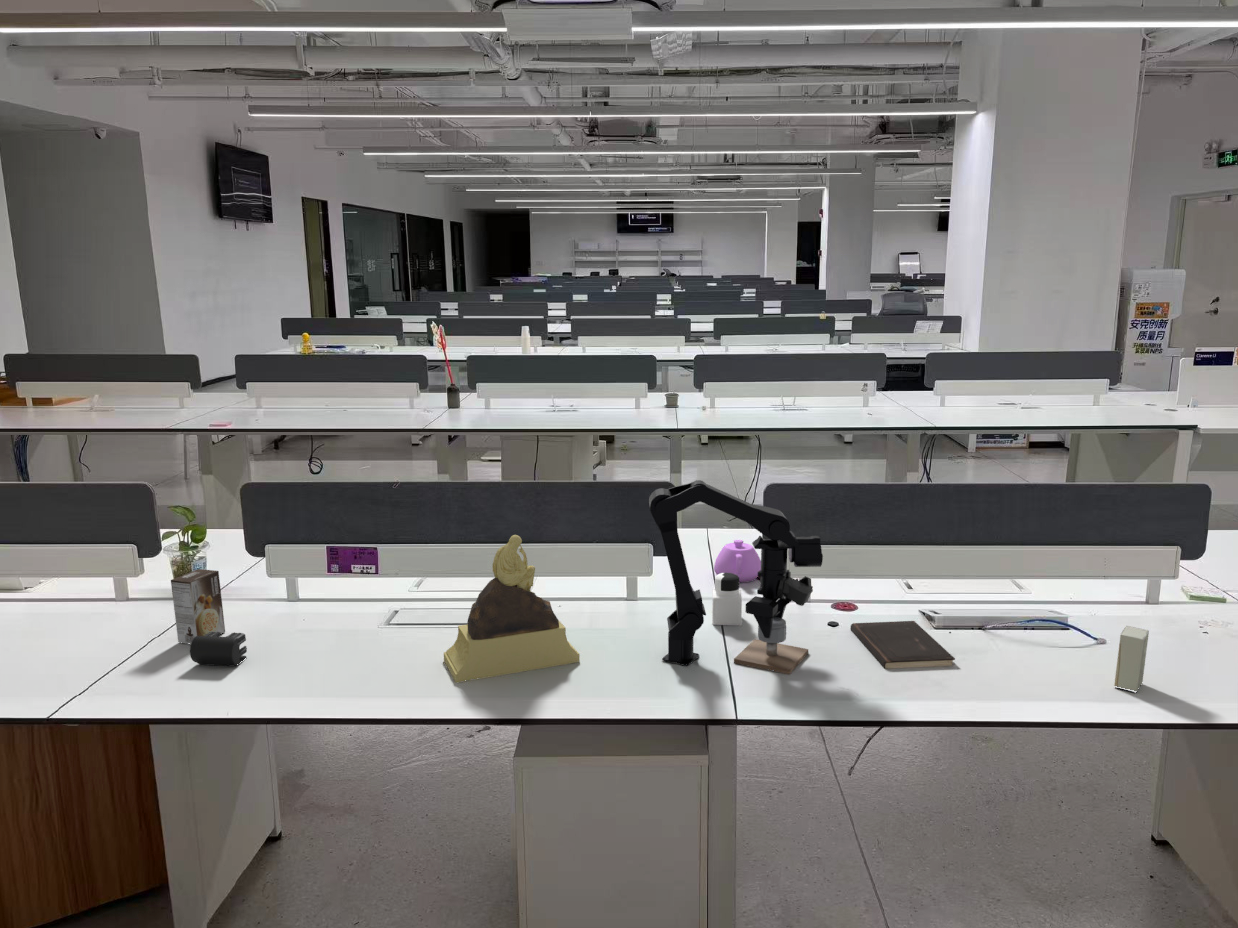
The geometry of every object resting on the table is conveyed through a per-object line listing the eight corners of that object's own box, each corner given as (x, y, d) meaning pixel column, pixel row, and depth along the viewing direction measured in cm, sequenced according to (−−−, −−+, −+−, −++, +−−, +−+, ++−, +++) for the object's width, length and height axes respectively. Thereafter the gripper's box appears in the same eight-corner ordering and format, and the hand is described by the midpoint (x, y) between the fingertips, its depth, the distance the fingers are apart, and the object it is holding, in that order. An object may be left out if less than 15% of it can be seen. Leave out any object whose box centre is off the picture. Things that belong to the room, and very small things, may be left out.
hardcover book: (913, 629, 227) (914, 620, 227) (954, 668, 205) (955, 658, 204) (850, 632, 226) (850, 623, 226) (884, 671, 204) (884, 661, 203)
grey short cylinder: (780, 645, 205) (780, 627, 204) (754, 640, 208) (754, 623, 207) (789, 635, 210) (789, 619, 209) (763, 631, 213) (764, 614, 212)
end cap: (191, 669, 207) (188, 640, 205) (208, 656, 214) (205, 628, 212) (233, 671, 206) (230, 642, 204) (249, 658, 212) (246, 630, 211)
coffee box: (205, 629, 230) (198, 567, 227) (226, 632, 228) (220, 570, 225) (177, 643, 221) (169, 579, 218) (198, 646, 219) (191, 582, 216)
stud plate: (789, 674, 201) (790, 659, 200) (733, 662, 207) (734, 648, 207) (808, 653, 212) (808, 638, 211) (754, 642, 218) (755, 628, 218)
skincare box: (1120, 678, 198) (1126, 624, 195) (1143, 684, 195) (1149, 629, 192) (1113, 688, 193) (1119, 633, 190) (1137, 694, 190) (1143, 638, 188)
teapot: (760, 565, 277) (761, 530, 275) (763, 587, 258) (764, 550, 255) (714, 564, 279) (714, 529, 276) (713, 585, 259) (714, 549, 257)
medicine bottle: (740, 615, 236) (741, 570, 234) (741, 625, 229) (742, 579, 227) (712, 614, 237) (712, 570, 234) (712, 625, 230) (712, 579, 227)
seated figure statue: (561, 641, 220) (558, 520, 214) (579, 662, 209) (577, 534, 203) (444, 660, 210) (437, 533, 204) (456, 683, 199) (449, 549, 193)
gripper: (795, 584, 194) (793, 654, 197) (821, 560, 210) (819, 625, 213) (745, 576, 199) (743, 644, 202) (774, 553, 215) (773, 617, 218)
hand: (771, 632), depth 209 cm, fingers closed on grey short cylinder, 6 cm apart
